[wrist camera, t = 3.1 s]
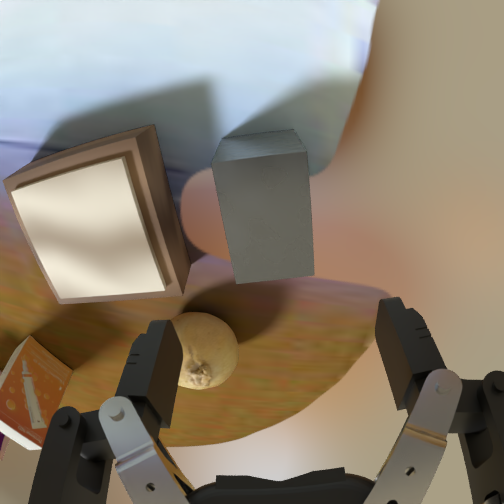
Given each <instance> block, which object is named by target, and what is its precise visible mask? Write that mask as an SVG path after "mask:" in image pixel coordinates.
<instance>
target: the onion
mask: <svg viewBox="0 0 504 504" xmlns="http://www.w3.org/2000/svg"><path fill="white" fill-rule="evenodd" d="M171 321H172V323H173V326H174V328H175V330H176V333H177V335H178V338H179V340H180V342H181V345H182V348H183V362H182V367H181V372H180V377H179V382H178V385H180V386H183V387H187V388H192V389H206V388H210V387H214V386H217V385H219V384H221V383H223V382H224V381H225V380H226V379H227V378H228V377H229V376H230V375H231V374H232V372H233V371H234V369H235V367H236V365H237V363H238V359H239V348H238V343H237V339H236V337H235V334H234V332H233V331H232V329H231V328H230V327H229V325H228V324H227V323H225V322H224V321H222V320H221V319H219V318H217V317H216V316H213V315H210V314H208V313H202V312H187V313H183V314H180V315H178V316H176V317H174V318H173V319H171Z"/></svg>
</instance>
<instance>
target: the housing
mask: <svg viewBox="0 0 504 504" xmlns="http://www.w3.org/2000/svg"><path fill="white" fill-rule="evenodd" d="M211 165H212V170H213V175H214V180H215V185H216V190H217V195H218V200H219V205H220V209H221V215H222V220H223V224H224V229H225V234H226V239H227V243H228V248H229V253H230V257H231V262H232V267H233V271H234V276H235V281H236V284H242V283H251V282H260V281H269V280H278V279H287V278H296V277H304V276H313V275H314V254H313V233H312V215H311V200H310V187H309V186H310V185H309V172H308V160H307V151H306V149H305V147H304V146H303V144H302V142H301V141H300V139H299V137H298V135H297V134H296V132H295V130H294V129H292V130H282V131H273V132H265V133H257V134H249V135H242V136H235V137H228V138H222V139H221V141H220V144H219V146H218V148H217V151H216V153H215V155H214V158H213V160H212V163H211Z"/></svg>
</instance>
